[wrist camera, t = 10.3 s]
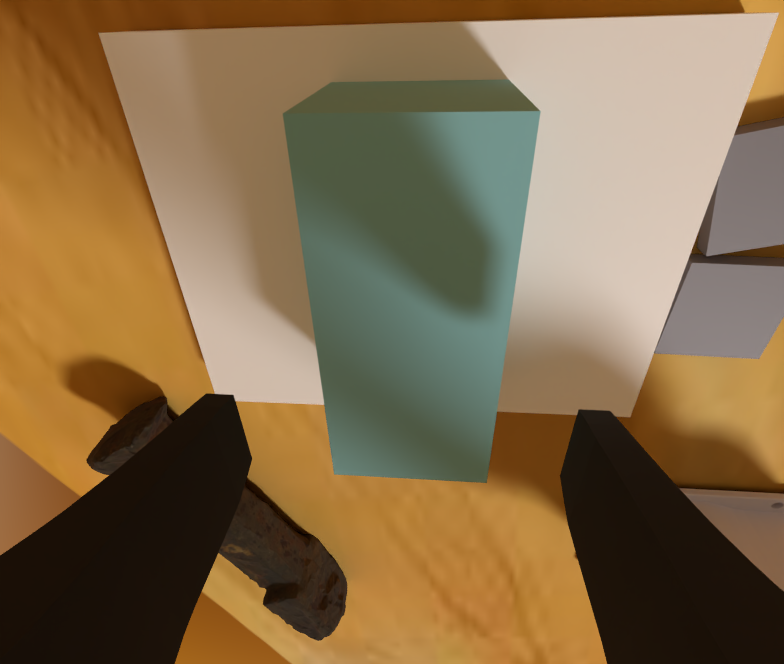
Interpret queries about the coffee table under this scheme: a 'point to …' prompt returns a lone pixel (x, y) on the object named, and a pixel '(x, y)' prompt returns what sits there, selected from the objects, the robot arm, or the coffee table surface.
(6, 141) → the coffee table surface
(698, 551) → the robot arm
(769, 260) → the mark chip
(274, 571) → the hand tool
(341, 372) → the block
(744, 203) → the mark chip
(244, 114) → the board
